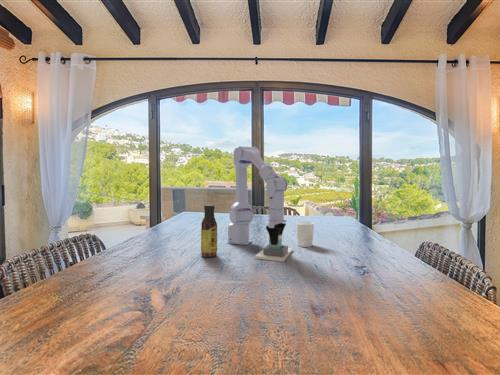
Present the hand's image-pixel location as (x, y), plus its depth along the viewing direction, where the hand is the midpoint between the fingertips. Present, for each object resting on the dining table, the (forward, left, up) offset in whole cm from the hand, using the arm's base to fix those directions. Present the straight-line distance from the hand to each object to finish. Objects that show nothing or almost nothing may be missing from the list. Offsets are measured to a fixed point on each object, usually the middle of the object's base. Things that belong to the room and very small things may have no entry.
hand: (276, 243), depth 119 cm
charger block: (0, 0, -4) cm, 4 cm away
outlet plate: (-1, +2, -5) cm, 6 cm away
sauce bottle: (-24, -9, -5) cm, 27 cm away
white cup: (+8, +21, -5) cm, 23 cm away
